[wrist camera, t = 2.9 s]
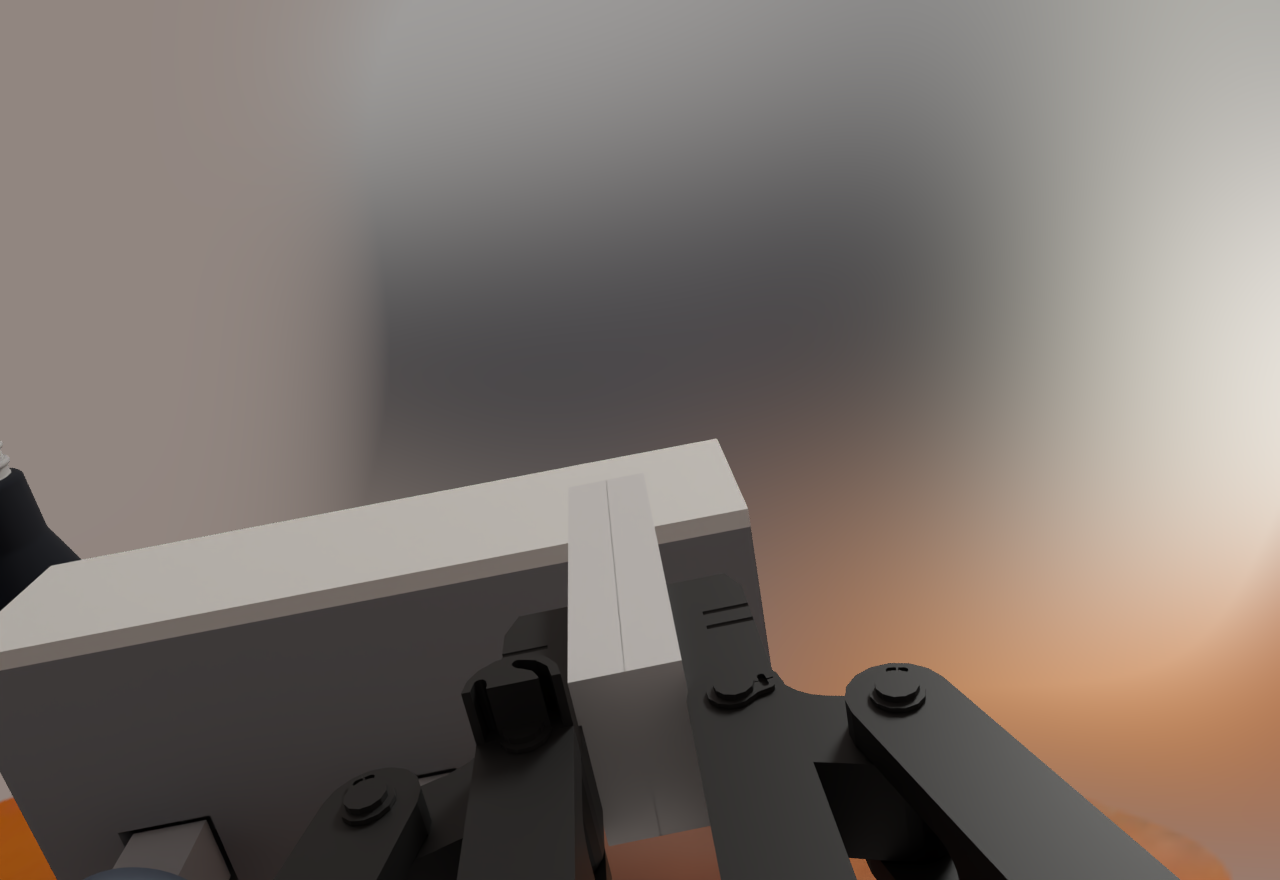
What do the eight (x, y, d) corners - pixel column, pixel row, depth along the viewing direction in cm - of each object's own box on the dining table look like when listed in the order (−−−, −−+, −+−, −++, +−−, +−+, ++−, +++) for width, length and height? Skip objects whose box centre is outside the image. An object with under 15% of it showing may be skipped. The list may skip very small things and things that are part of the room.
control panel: (819, 1000, 34) (747, 508, 27) (187, 1125, 34) (-58, 662, 27) (784, 874, 40) (716, 438, 33) (241, 980, 40) (50, 565, 32)
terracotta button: (772, 908, 27) (750, 775, 25) (606, 941, 27) (572, 809, 25) (746, 806, 31) (725, 684, 29) (601, 834, 31) (572, 714, 29)
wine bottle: (110, 973, 41) (-228, 333, 31) (78, 899, 46) (-224, 322, 35) (249, 882, 45) (-9, 283, 34) (207, 822, 50) (-32, 279, 39)
